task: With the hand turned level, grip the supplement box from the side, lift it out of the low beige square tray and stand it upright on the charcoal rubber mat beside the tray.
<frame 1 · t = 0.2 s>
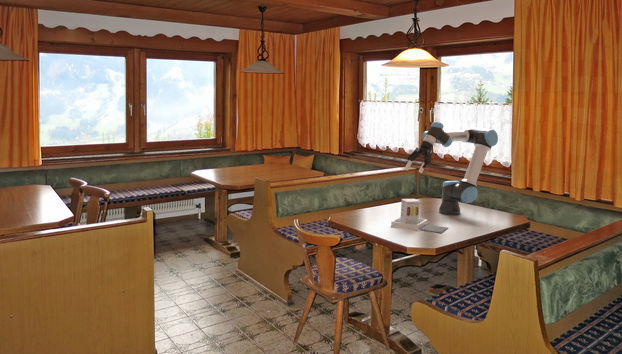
hand: (412, 171, 345), 35 cm above the table, tool tilted 35°, fingers open, 13 cm apart
charcoal mat: (434, 229, 339), on the table
supplement box: (409, 225, 349), resting in beige square tray
beige square tray: (409, 225, 349), on the table
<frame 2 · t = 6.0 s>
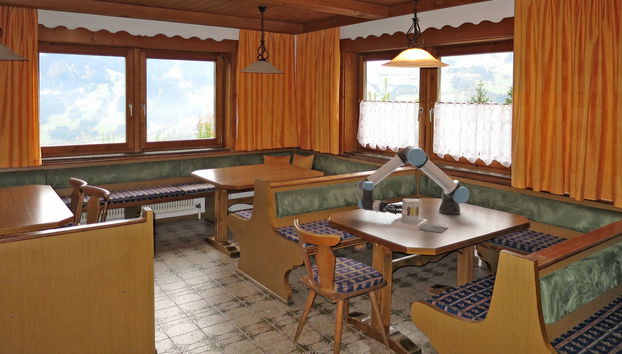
hand: (410, 210, 347), 10 cm above the table, tool horizontal, fingers open, 13 cm apart
supplement box: (409, 225, 349), resting in beige square tray, touching gripper
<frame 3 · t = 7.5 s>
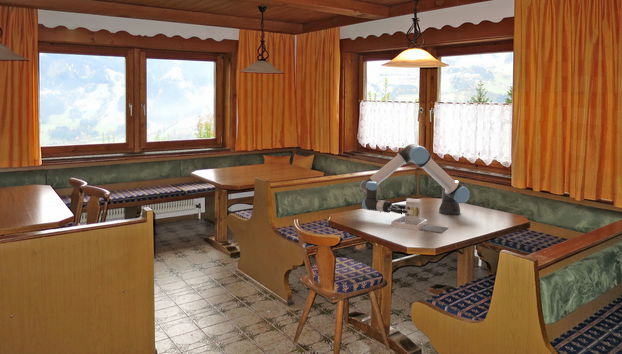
hand: (415, 210, 345), 10 cm above the table, tool horizontal, fingers closed on supplement box, 11 cm apart
supplement box: (412, 225, 349), resting in beige square tray, touching gripper
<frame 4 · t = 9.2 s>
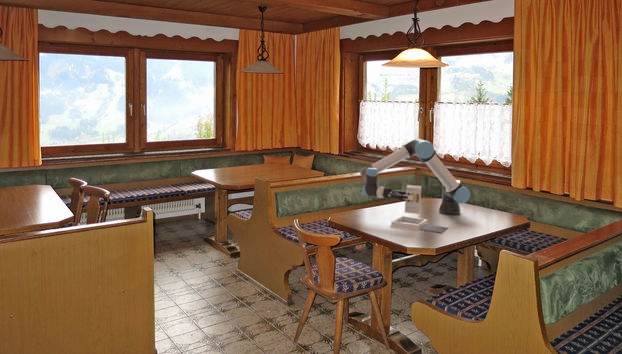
hand: (416, 196, 343), 20 cm above the table, tool horizontal, fingers closed on supplement box, 11 cm apart
supplement box: (412, 212, 346), point 9 cm above the table, touching gripper
when the fingers open (12 cm above the table, at t = 13.5 s): supplement box stays where it is, resting on charcoal mat.
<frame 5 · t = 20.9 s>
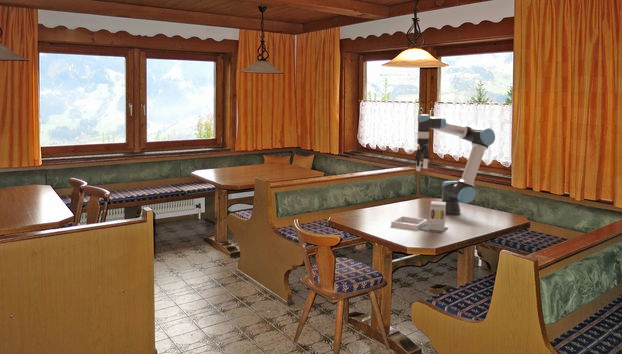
hand: (421, 169, 356), 35 cm above the table, tool pointing down, fingers open, 13 cm apart
supplement box: (436, 229, 338), resting on charcoal mat
at the end: supplement box inside the target area on the charcoal mat (1.7 cm from its centre), point 0.4 cm above the charcoal mat's base; supplement box tilted 0°; the gripper is holding nothing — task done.
